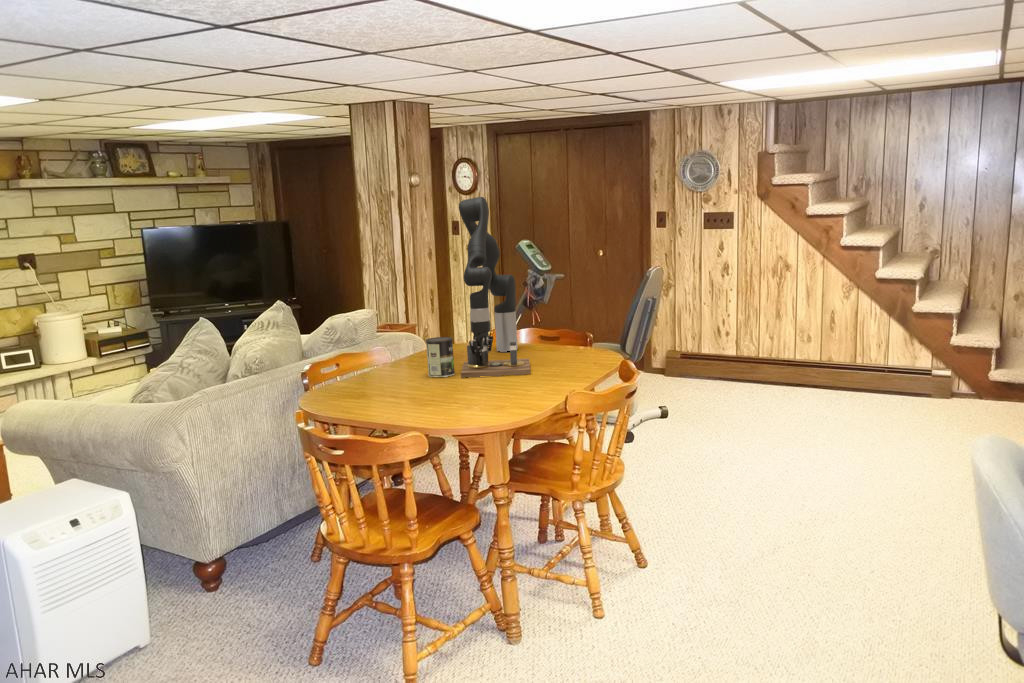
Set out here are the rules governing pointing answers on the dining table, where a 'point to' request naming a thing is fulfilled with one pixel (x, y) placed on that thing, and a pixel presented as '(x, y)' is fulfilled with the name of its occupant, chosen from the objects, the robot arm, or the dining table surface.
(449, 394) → the dining table surface
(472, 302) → the robot arm
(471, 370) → the base plate
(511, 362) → the knob
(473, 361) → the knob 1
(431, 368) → the coffee can
